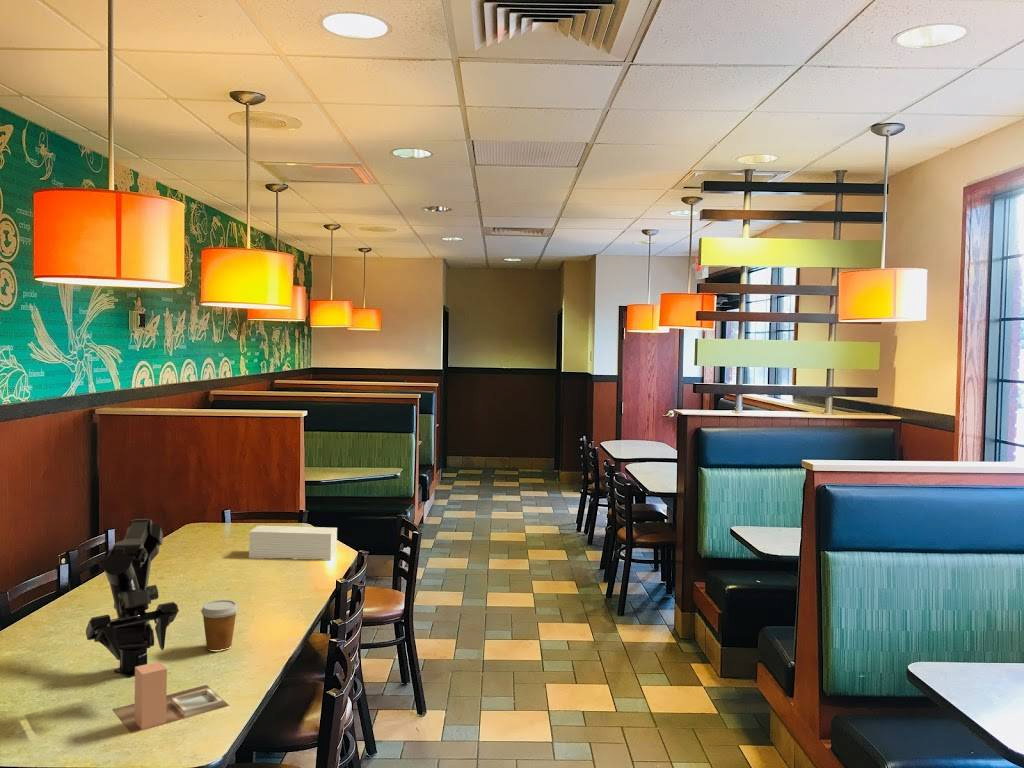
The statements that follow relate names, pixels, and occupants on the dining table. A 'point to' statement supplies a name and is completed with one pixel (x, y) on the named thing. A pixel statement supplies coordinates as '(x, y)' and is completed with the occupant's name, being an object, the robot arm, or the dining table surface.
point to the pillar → (150, 695)
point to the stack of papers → (292, 542)
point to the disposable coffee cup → (219, 623)
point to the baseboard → (177, 706)
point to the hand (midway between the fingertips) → (141, 654)
